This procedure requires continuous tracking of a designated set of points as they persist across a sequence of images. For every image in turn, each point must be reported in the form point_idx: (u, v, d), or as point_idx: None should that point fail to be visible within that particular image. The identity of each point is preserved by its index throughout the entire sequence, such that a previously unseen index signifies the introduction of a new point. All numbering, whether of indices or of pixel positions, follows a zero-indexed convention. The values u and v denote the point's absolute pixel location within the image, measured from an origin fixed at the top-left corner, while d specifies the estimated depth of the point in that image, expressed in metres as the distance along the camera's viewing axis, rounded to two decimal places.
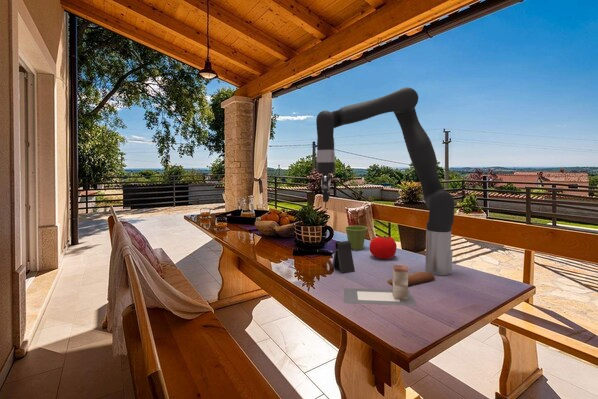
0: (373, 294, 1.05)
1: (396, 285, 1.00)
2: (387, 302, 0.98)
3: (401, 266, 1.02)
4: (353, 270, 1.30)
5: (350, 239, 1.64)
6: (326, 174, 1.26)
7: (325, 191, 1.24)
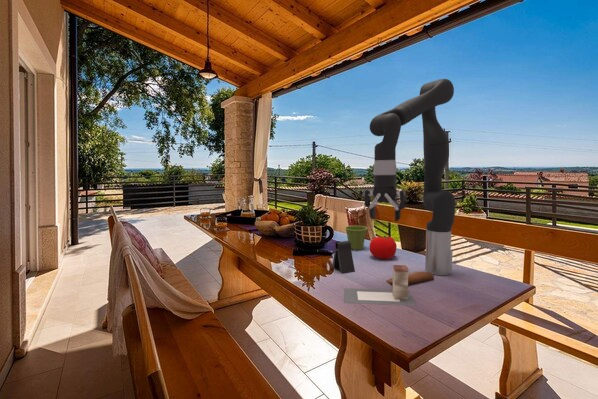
0: (373, 294, 1.05)
1: (396, 285, 1.00)
2: (387, 302, 0.98)
3: (401, 266, 1.02)
4: (353, 270, 1.30)
5: (350, 239, 1.64)
6: (395, 188, 1.08)
7: (402, 208, 1.06)
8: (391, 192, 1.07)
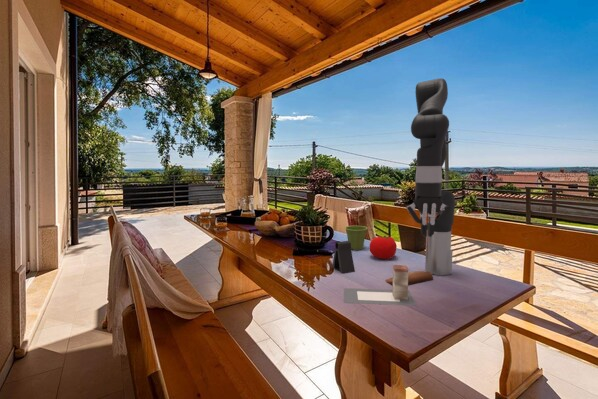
0: (373, 294, 1.05)
1: (396, 285, 1.00)
2: (387, 302, 0.98)
3: (401, 266, 1.02)
4: (353, 270, 1.30)
5: (350, 239, 1.64)
6: None
7: None
8: (438, 201, 0.97)
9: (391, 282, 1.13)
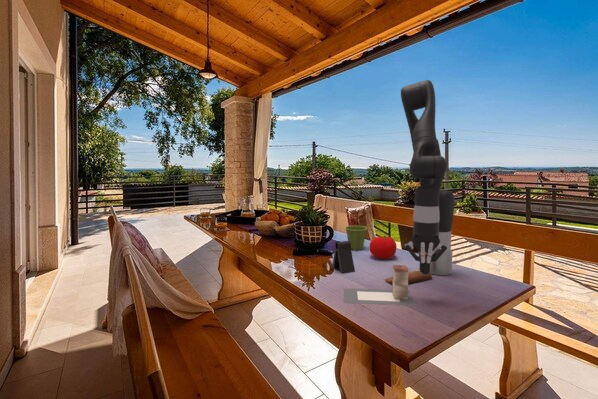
0: (373, 294, 1.05)
1: (396, 285, 1.00)
2: (387, 302, 0.98)
3: (401, 266, 1.02)
4: (353, 270, 1.30)
5: (350, 239, 1.64)
6: None
7: None
8: (436, 240, 0.98)
9: (390, 282, 1.13)
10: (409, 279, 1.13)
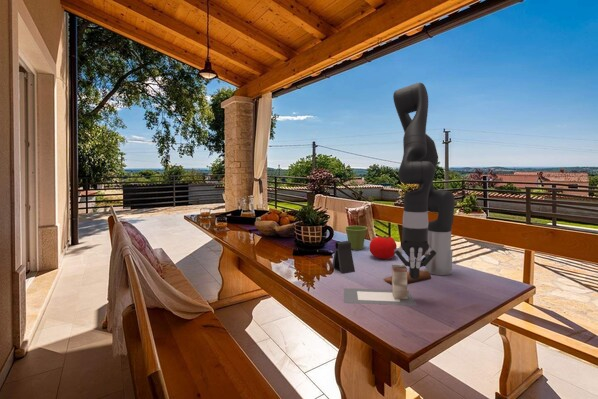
0: (373, 294, 1.05)
1: (395, 285, 1.00)
2: (387, 302, 0.98)
3: (400, 266, 1.02)
4: (353, 270, 1.30)
5: (350, 239, 1.64)
6: None
7: None
8: (425, 245, 0.98)
9: (389, 281, 1.14)
10: (408, 278, 1.14)
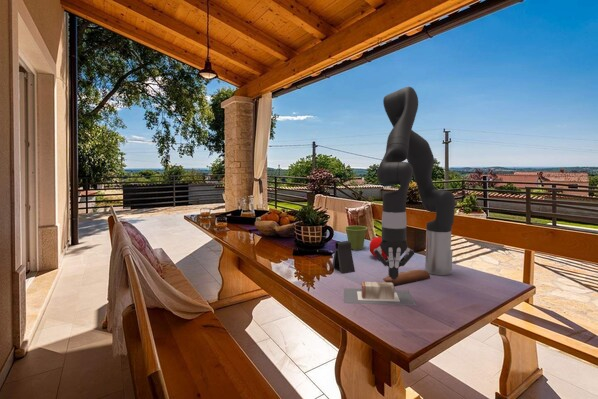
0: None
1: (379, 297, 1.01)
2: (387, 302, 0.98)
3: None
4: (353, 270, 1.30)
5: (350, 239, 1.64)
6: None
7: None
8: (404, 245, 0.99)
9: (389, 281, 1.14)
10: (407, 278, 1.14)
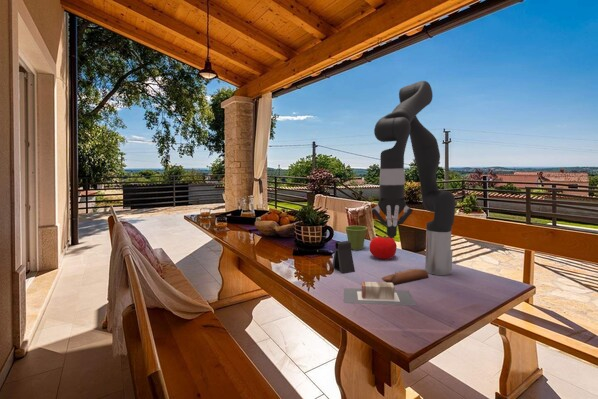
0: None
1: (379, 297, 1.01)
2: (387, 302, 0.98)
3: None
4: (353, 270, 1.30)
5: (350, 239, 1.64)
6: None
7: None
8: (402, 203, 0.98)
9: (387, 280, 1.15)
10: (406, 277, 1.15)
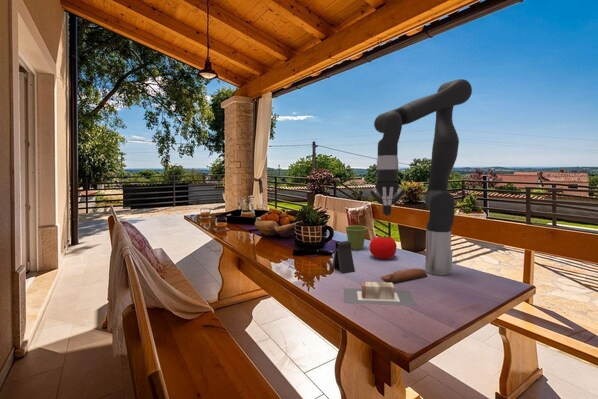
0: None
1: (379, 297, 1.01)
2: (387, 302, 0.98)
3: None
4: (353, 270, 1.30)
5: (350, 239, 1.64)
6: None
7: (393, 203, 1.16)
8: (396, 185, 1.14)
9: (386, 279, 1.16)
10: (404, 277, 1.16)
